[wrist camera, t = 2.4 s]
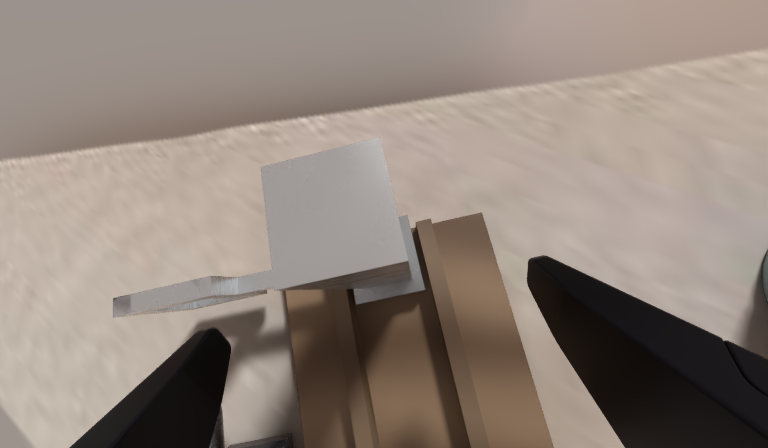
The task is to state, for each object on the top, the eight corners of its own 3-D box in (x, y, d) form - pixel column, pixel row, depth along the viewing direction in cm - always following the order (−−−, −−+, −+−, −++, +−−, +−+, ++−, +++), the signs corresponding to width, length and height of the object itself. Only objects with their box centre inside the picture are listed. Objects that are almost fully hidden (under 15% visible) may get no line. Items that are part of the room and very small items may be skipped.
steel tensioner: (424, 289, 15) (444, 293, 5) (198, 338, 16) (-186, 427, 6) (407, 219, 16) (396, 102, 6) (195, 268, 17) (-140, 238, 7)
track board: (550, 461, 14) (580, 499, 12) (321, 502, 15) (301, 546, 12) (477, 217, 17) (488, 205, 15) (290, 260, 18) (269, 255, 15)
